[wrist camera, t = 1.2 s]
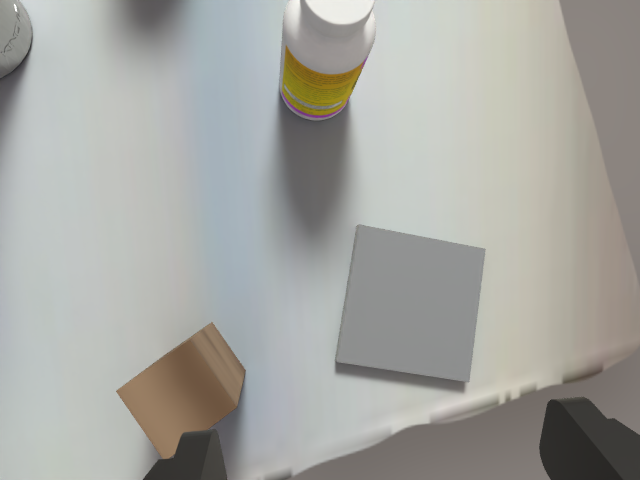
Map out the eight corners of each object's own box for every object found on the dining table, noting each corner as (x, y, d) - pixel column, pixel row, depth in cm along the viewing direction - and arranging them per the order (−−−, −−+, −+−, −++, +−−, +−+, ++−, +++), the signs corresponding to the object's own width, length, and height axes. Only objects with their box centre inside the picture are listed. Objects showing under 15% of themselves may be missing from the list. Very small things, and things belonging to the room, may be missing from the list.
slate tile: (335, 359, 35) (337, 362, 34) (356, 226, 37) (359, 224, 36) (463, 379, 36) (469, 382, 36) (479, 249, 38) (485, 248, 37)
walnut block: (195, 407, 33) (164, 461, 23) (160, 357, 33) (115, 391, 23) (245, 370, 34) (236, 407, 24) (212, 322, 34) (189, 339, 24)
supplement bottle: (351, 123, 37) (395, 43, 25) (280, 123, 37) (287, 40, 24) (347, 54, 38) (387, -58, 25) (277, 53, 37) (282, -64, 25)
